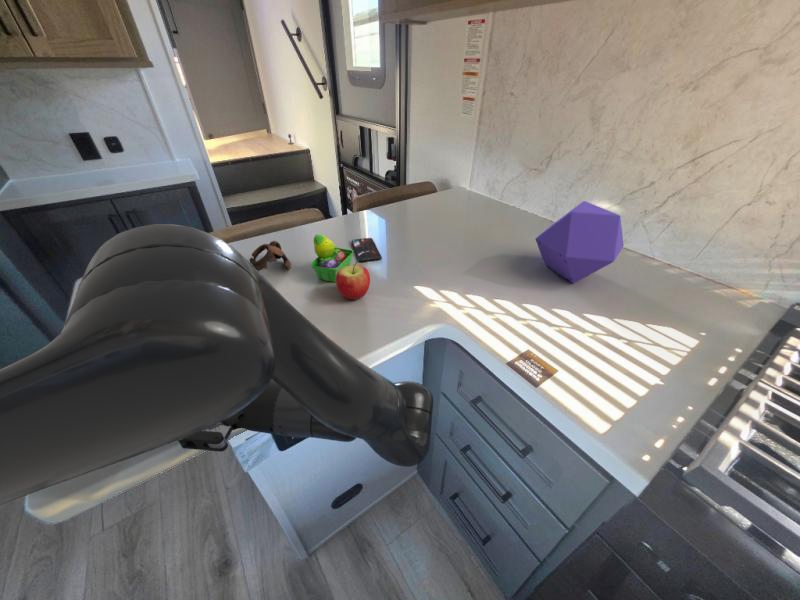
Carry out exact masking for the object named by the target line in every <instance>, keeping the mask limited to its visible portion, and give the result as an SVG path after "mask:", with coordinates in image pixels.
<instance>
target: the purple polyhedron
mask: <svg viewBox="0 0 800 600" xmlns="http://www.w3.org/2000/svg"><path fill="white" fill-rule="evenodd" d="M622 228H623V227H622V219H621V215H620V214H618V213H616V212H613V211H610V210H608V209H605V208H602V207H601V206H598V205H595V204H594V203H591V202H588V201H585V200H583V201H581V202H580V203H579V204H578V205H576V206H575V207H573V208H572V209H570V211H569V212H567V213H565V214H564V215H563V216H562V217H560V218H559V219H557V220H556V221H555V222H554V223H552V224H551V225H550V226H549V227H547V228H546V229H545V230H544V231H543V232H541V233H540V234H539V235H537V237H535V242H536V243H537V244H536V245H537V247H538V250H539V253H540V256H541V258H542V260H543V263H544V265H545V266H546V267H547V268H549V269H551V270H552V271H554V273H556V274H558V275H560V276H561V277H562V278H563V279H565V280H568V282H570V283H571V284H572V285H573V284H575V283H577V282H580V281H581V280H583V279H585V278H586V277H589V276H590V275H592V274H594V273H596V272H598V271H599V270H602V269H603V268H605V267H607V266H609V265H610V264H613V263H614V262H615V261H616V259H617V257H618V256H619V254H620V253H621V251H622V249H624V247H625V246H624V245H625V244H624V236H623V229H622Z"/></svg>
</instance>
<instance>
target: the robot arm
mask: <svg viewBox="0 0 800 600" xmlns="http://www.w3.org/2000/svg"><path fill="white" fill-rule="evenodd" d="M433 409H434V395H433V393H432V392H431V390H430V389H429V388H428V387H426V385H424V384H422V383H420V382H417V381H411V380H404V381H403V380H402V381H396V382H393V381H391V380H390V379H388V378H386V377H385V376H384V375H382V374H381V373H379V372H377V371H376V370H374V369H373V368H371V367H369V366H368V365H366V364H364V363H363V362H362V361H360V360H359V359H357V358H356V357H354V356H353V355H352V354H350V353H349V352H347V351H346V350H345V349H343V347H341V346H340V345H339V344H337V343H336V342H335V341H334V340H332V339H331V338H330V337H329V336H327V335H326V334H325V333H323V331H321V330H320V329H319V328H318V327H317V326H316V325H314V324H313V323H312V322H311V321H310V320H309V319H307V317H306V316H305V315H303V314H302V313H301V312H300V311H299V310H298V309H296V308H295V307H294V306H293V304H291V303H290V302H289V300H287V299H286V298H285V297H284V296H283V295H282V294H281V293H280V292H279V291H278V290H277V289H276V288H275V287H274V286H273V285H272V283H270V281H268V280H267V279H266V278H265V276H263V274H261V273H260V271H259V270H256V269H255V268H254V267H253V266H252V264H251V263H250V261H248V259H246V258H245V257H244V256H243V255H242V254H241V253H240V252H239V251H238V250H237V249H236V248H234V246H232V245H230V244H229V243H228V242H226V241H225V240H223V239H221V238H219V237H217V236H216V235H213V234H211V233H209V232H207V231H204V230H200V229H197V228H195V227H191V226H186V225H180V224H174V223H164V224H163V223H153V224H147V225H141V226H137V227H136V226H135V227H133V228H130V229H127V230H124V231H122V232H119V233H117V234H115V235H114V236H112V237H111V238H110V239H108V240H106V241H105V242H104V243H103V244H102V245H101V246H100V247H99V248H98V249H97V250H96V251H95V253H94V254H93V255H92V257H91V259H90V261H89V262H88V264H87V266H86V269H85V271H84V273H83V275H82V278H81V280H80V283H79V285H78V287H77V291H76V293H75V297H74V299H73V302H72V305H71V308H70V310H69V312H68V316H67V318H66V320H65V323H64V326H63V328H62V330H61V331H60V334H59V335H57V336H56V337H55V338H54V339H52V340H51V341H50V342H49V343H48V344H46V345H45V346H43V347H42V348H40V349H39V350H37V351H35V352H33V353H31V354H30V355H28V356H26V357H24V358H22V359H19V360H18V361H15V362H13V363H11V364H9V365H7V366H4V367H3V368H0V506H1V505H4V504H7V503H9V502H12V501H16V500H17V499H20V498H22V497H26V496H29V495H31V494H34V493H36V492H39V491H41V490H42V491H43V490H45V489H48V488H50V487H53V486H56V485H58V484H61V483H64V482H67V481H71V480H73V479H75V478H78V477H81V476H85V475H87V474H89V473H92V472H96V471H97V470H101V469H104V468H106V467H109V466H112V465H115V464H118V463H120V462H123V461H126V460H129V459H131V458H135V457H137V456H141V455H143V454H145V453H149V452H152V451H154V450H157V449H159V448H163V447H165V446H167V445H170V444H172V443H176V442H178V443H179V444H180V446H181V448H182V449H184V450H194V451H195V450H196V451H197V450H198V451H207V452H208V451H209V452H224V451H226V450H227V449H228V447H229V444H228V442H227V441H228V439H229V437H230V436H231V433H232V432H233V431H236V430H238V429H239V430H240V429H244V430H247V431H250V432H255V433H262V434H270V435H276V436H277V435H278V436H282V437H291V438H315V439H321V440H327V441H334V442H335V441H336V442H343V443H350V442H353V441H355V440H356V439H359V440H363V441H364V442H365V443H366V444H367V445H368V446H369V447H370V448H371V450H373V452H374V453H375V454H377V455H378V456H379V457H380V458H381V459H383V460H384V461H386V462H388V463H390V464H392V465H395V466H398V467H404V468H405V467H406V468H407V467H409V468H410V467H414V466H417V465H419V464H421V463H422V462H424V460H425V459H426V458H427V456H428V454H429V451H430V447H431V434H432V423H433ZM219 427H220V428H219ZM216 428H217V429H216Z"/></svg>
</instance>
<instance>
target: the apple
mask: <svg viewBox="0 0 800 600" xmlns="http://www.w3.org/2000/svg"><path fill="white" fill-rule="evenodd" d="M358 262H360V261H359V260H358V259H357V260H356V261H355V264H350V266H346V267H343V268H341V269H340V270H339V271H338V272H337V275H336V282H335V284H336V288H337V290H338V292H339V293H340V294H341V296H343V297H344V298H346V299H348V300H358V299H361V298H363V297H364V296H365V295H366V294H367V293H368V291H369V288H370V285H371V275H370V272H369V269H367V267H364V266H362V265H359V264H358Z"/></svg>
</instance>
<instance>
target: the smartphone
mask: <svg viewBox="0 0 800 600" xmlns="http://www.w3.org/2000/svg"><path fill="white" fill-rule="evenodd" d="M351 244H352V247H353V249H354V251H355V254H356V257H357V260H359V261H358V262H359V263H366V262H374V261H381V260H382V259H383V257H382V255H381V253H380V251H379V249H378V247H377V244H376V242H375V240H374V239H373V238H372V237H364V238H356V239H355V238H354V239H352V240H351Z"/></svg>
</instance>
